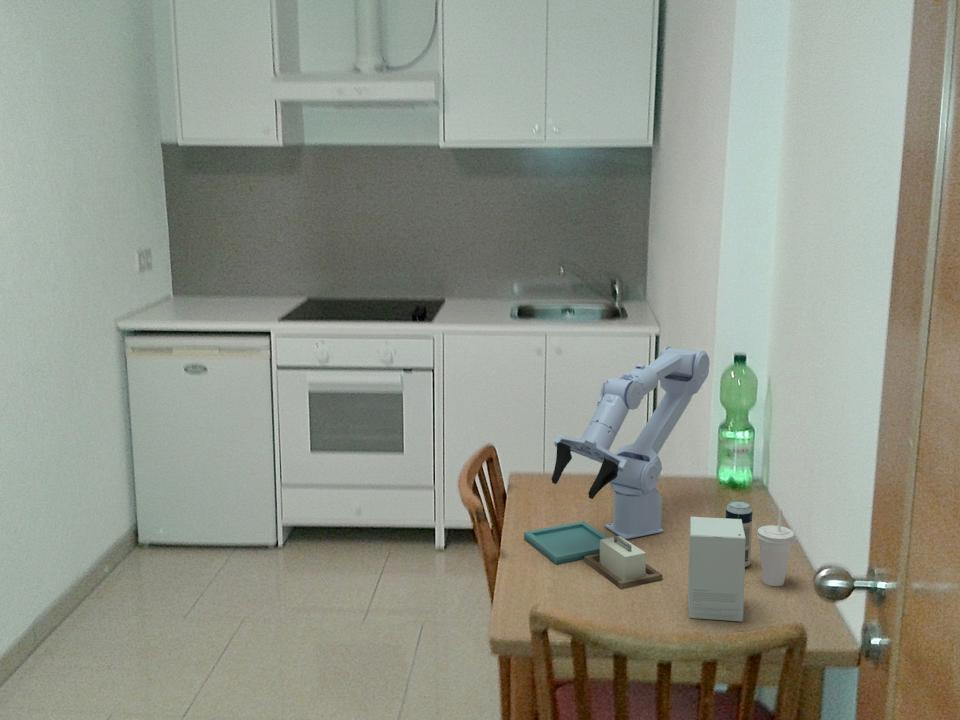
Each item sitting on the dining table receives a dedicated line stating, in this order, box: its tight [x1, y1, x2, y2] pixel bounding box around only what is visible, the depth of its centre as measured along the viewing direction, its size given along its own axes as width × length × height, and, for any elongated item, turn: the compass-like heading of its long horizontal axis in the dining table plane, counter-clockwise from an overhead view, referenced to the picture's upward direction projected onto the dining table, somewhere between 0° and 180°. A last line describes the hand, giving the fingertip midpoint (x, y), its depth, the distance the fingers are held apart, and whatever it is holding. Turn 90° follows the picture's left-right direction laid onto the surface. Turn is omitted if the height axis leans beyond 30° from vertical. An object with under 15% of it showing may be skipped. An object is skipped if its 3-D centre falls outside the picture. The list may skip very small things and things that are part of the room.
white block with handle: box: [599, 535, 647, 580], centre depth 175 cm, size 4×9×6 cm, turn 23°
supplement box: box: [687, 516, 746, 623], centre depth 159 cm, size 9×9×15 cm
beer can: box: [725, 500, 753, 568], centre depth 177 cm, size 5×5×12 cm
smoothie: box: [756, 507, 795, 587], centre depth 169 cm, size 6×6×14 cm
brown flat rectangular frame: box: [583, 553, 663, 589], centre depth 176 cm, size 9×13×1 cm, turn 23°
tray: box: [523, 520, 610, 566], centre depth 188 cm, size 14×14×2 cm
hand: (571, 488), depth 176 cm, fingers open, 7 cm apart
